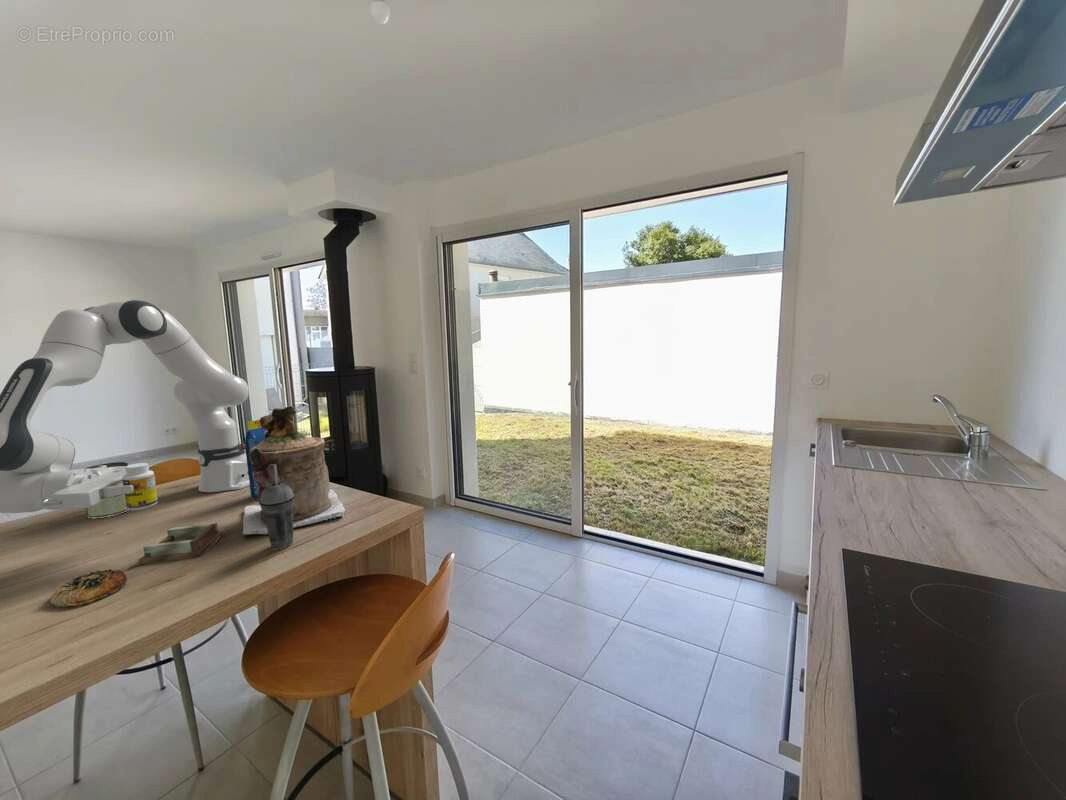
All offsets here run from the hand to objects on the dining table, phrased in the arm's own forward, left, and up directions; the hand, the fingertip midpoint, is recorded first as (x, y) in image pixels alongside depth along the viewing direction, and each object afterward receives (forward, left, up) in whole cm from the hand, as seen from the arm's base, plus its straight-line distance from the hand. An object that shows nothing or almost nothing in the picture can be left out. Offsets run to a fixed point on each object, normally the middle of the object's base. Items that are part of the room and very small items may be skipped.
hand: (144, 483), depth 102 cm
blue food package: (-37, -12, -17) cm, 43 cm away
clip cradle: (-3, +6, -17) cm, 18 cm away
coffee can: (-6, -42, -17) cm, 46 cm away
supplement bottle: (+1, -1, -6) cm, 6 cm away
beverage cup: (-15, +27, -17) cm, 35 cm away
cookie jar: (-28, +12, -17) cm, 35 cm away
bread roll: (+15, +11, -17) cm, 25 cm away
